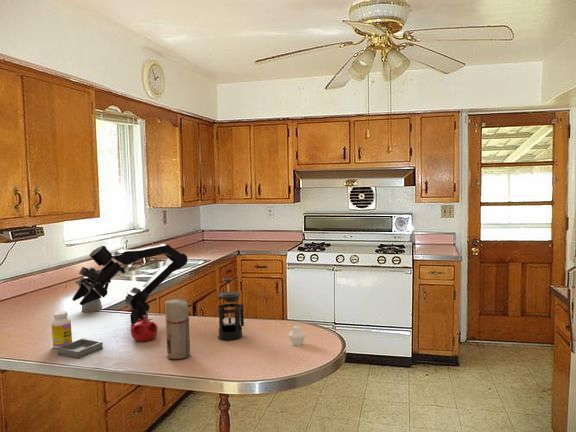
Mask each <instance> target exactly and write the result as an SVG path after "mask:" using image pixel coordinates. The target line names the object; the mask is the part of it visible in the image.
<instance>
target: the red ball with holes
mask: <svg viewBox="0 0 576 432" xmlns="http://www.w3.org/2000/svg"><path fill="white" fill-rule="evenodd" d="M143 317H144V319H143V320H141V319H140V321H138V322H137V321H136V322H137V323H135V322H134V323H135V324H134V325H133V326H130V327H131V328H130V334H131V337H132V338H133V340H135V341H136V342H139V343H140V342H141V343H142V342H147V341H148V342H149V341H151V340H152V341H153V339H155V338H156V337H157V334H158V324H156V322H154V321H149V320H153V318H148V320H147V321H146V316H143Z"/></svg>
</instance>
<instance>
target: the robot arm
mask: <svg viewBox="0 0 576 432" xmlns="http://www.w3.org/2000/svg"><path fill="white" fill-rule="evenodd" d="M159 255H164V256H165V257H166V258H167V259H166V262H165V264H164V265H163V266H162V267H161V268H160V269H159V270H158V271H157V272H155V274H153V276H151V278H149V279H148V280H147V281H146V282H145V283H144V284H143V285H142V286H140V287H139V288H137V287H136V286H134V287H133V288H132V289H131V290H130V291H129V292H126V294H127V295H126V296H125V300H124V301H125V304H126V306H127V307H129V308H130V309H131V313H130V316H129V317H130V324H131V325H130V327H132V326H133V325H134V324H135V323H137V322H138V321H140V319H141V320H143V319H144V317H143V316H146V321H147V320H148V319H149V311H150V304H148V303H147V300H148V299H149V297H150V294H151V293H152V292H153V291H154V290H156V289H157V287H159V286H160V285H161V284H162V283H163V282H164V281H165V280H166V279H167V278H168V277H169V276H171V274H172V273H173V272H175V271H178V270H180V269H181V268H183V267H185V266H186V265H187V264H188V259H189V258H188V256H187V255H186V253H183V252H179V251H178V250H177V249H174V248H173V247H172V246H170V245H169V244H166V243H161V244H159V245H154V246H148V247H144V248H140V249H119V250H118V251H117V252H112V253H111V252H110V251H109V250H108V248H107V247H106V246H105V245H104V244H102V245H101V246H98V247H97V248H95V249H93V250H92V251H91V252H90V254H89V258H90V259H92V260H93V261H94V262H95V263H96V264H97V265H98V266H99V267H100V266H102V268H101V269H100V270H99V269H97V270H96V268H94V267H90V268H88V267H85V266H82V267H81V269H80V270H79V273H78V274H79V275H81V276H82V277H81V278H80V279H79V281H80V282H79V285H78V289H77V291H75V293H74V295H73V297H72V299H71V300H72V301H73V302H75V301H77V300H79V299H81V298H82V299H81V300H80V302H79V305H80V306H82V305H83V304H86V303H88V302H91V301H93V300H96V299H99V298H100V299H102V298H105V297H106V296H107V295H108V289H107V290H106V289H105V288H104V287H105V285H106V284H107V283H109V284H110V283H111V282H112V279H113V278H114V277H115V276H116V275H117V274H119V273H120V274H125V273H126V271H125V269H126V266H124V265H131V264H132V263H133V264H134V263H135V262H137V261H138V260H141V259H145V258H146V259H147V258H150V257H155V256H159ZM114 260H115V261H116V262H115V261H114ZM121 265H123V266H121ZM87 277H88V278H87ZM85 295H86V296H85ZM84 296H85V297H84ZM136 321H137V322H136ZM149 321H150V320H149ZM134 322H135V323H134ZM150 322H151V321H150Z"/></svg>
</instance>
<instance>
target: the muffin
mask: <svg viewBox="0 0 576 432" xmlns="http://www.w3.org/2000/svg"><path fill="white" fill-rule="evenodd" d="M288 337H289V340H290V341H291V343H292V345H293V346H295V347H298V346H302V345H303V343H304V340H305V339H306V333H305V331H303V329H302V327H301V326H300V325H294V326H292V327H291V330H290V332H289V333H288Z"/></svg>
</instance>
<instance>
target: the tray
mask: <svg viewBox="0 0 576 432" xmlns="http://www.w3.org/2000/svg"><path fill="white" fill-rule="evenodd" d="M103 346H104V343H103V341H99V340H93V339H89V338H80V339H77V340H75V341H72V342H71V343H69V344H66V345H63V346H61V347H58V348H56V349H57V355H58V356H63V357H67V358H72V359H76V360H78V359H81V358H84V357H86V356H89V355H90V354H93V353H96V352H98V351H100V350H103V349H104V347H103ZM88 354H89V355H88Z"/></svg>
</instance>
